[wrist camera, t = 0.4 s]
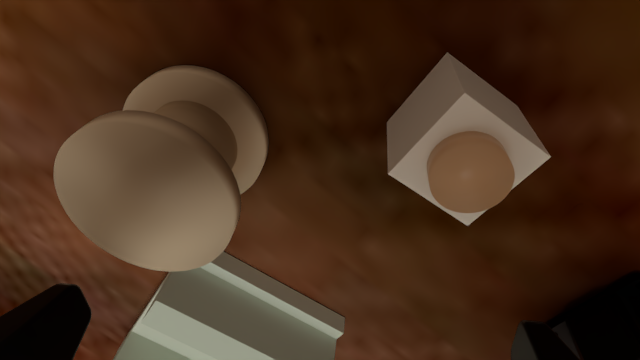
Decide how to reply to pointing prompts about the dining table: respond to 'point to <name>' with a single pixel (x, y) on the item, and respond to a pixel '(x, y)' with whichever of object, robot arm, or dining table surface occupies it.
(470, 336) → the dining table surface
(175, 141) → the bobbin
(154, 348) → the notch board
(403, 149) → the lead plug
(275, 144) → the dining table surface
